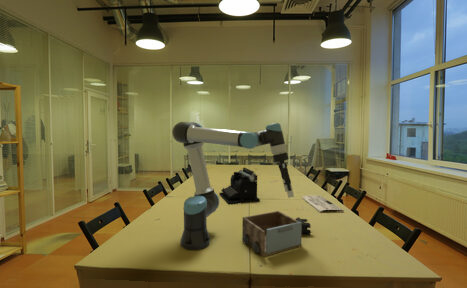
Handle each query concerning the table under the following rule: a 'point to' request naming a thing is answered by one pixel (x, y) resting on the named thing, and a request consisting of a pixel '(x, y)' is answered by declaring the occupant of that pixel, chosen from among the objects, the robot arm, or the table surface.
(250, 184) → the typewriter
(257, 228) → the box
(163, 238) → the table surface
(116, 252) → the table surface
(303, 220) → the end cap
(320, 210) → the newspaper
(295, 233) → the panel
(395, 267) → the table surface
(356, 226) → the table surface
